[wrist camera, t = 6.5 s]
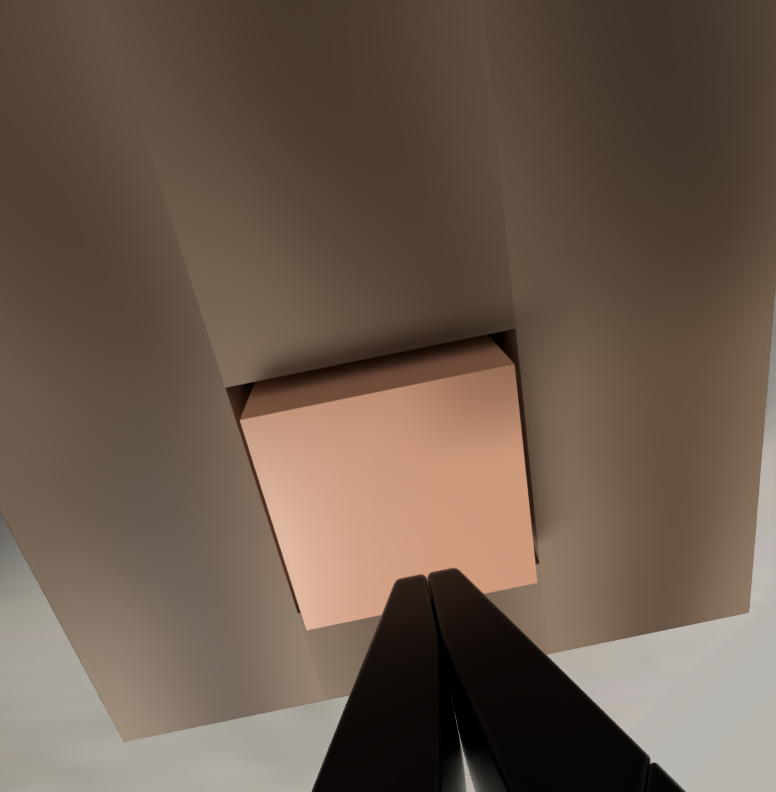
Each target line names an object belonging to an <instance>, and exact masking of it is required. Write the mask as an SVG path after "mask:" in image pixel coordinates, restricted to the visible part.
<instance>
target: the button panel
mask: <svg viewBox="0 0 776 792" xmlns="http://www.w3.org/2000/svg"><path fill="white" fill-rule="evenodd" d="M775 285H776V0H0V513H1V515H2V516H3V518H4V520H5V522H6V524H7V526H8V528H9V529H10V531H11V533H12V535H13V537H14V539H15V541H16V542H17V544H18V546H19V548H20V550H21V552H22V554H23V555H24V557H25V559H26V561H27V563H28V565H29V567H30V569H31V570H32V572H33V574H34V576H35V578H36V580H37V582H38V583H39V585H40V587H41V589H42V591H43V593H44V595H45V596H46V598H47V600H48V602H49V604H50V606H51V608H52V609H53V611H54V613H55V615H56V617H57V619H58V621H59V623H60V624H61V626H62V628H63V630H64V632H65V634H66V636H67V637H68V639H69V641H70V643H71V645H72V647H73V649H74V650H75V652H76V654H77V656H78V658H79V660H80V662H81V663H82V665H83V667H84V669H85V671H86V673H87V675H88V676H89V678H90V680H91V682H92V684H93V686H94V688H95V690H96V691H97V693H98V695H99V697H100V699H101V701H102V703H103V704H104V706H105V708H106V710H107V712H108V714H109V716H110V717H111V719H112V721H113V723H114V725H115V727H116V729H117V730H118V732H119V734H120V736H121V738H122V740H123V742H126V741H131V740H136V739H140V738H145V737H150V736H155V735H160V734H165V733H169V732H174V731H179V730H184V729H189V728H194V727H198V726H203V725H208V724H213V723H218V722H223V721H227V720H232V719H237V718H242V717H247V716H252V715H256V714H261V713H266V712H271V711H276V710H281V709H285V708H290V707H295V706H300V705H305V704H310V703H314V702H319V701H324V700H329V699H334V698H339V697H344V696H348V695H350V693H351V691H352V688H353V686H354V683H355V681H356V678H357V676H358V673H359V671H360V668H361V666H362V663H363V660H364V658H365V655H366V653H367V650H368V648H369V645H370V643H371V640H372V638H373V635H374V633H375V630H376V628H377V625H378V623H379V620H380V618H381V615H379V616H374V617H369V618H364V619H360V620H355V621H350V622H345V623H340V624H335V625H330V626H326V627H321V628H316V629H311V630H306V627H305V624H304V621H303V618H302V615H301V611H300V608H299V605H298V602H297V599H296V596H295V593H294V589H293V586H292V583H291V580H290V577H289V574H288V571H287V567H286V564H285V561H284V558H283V555H282V552H281V549H280V545H279V542H278V539H277V536H276V533H275V530H274V527H273V523H272V520H271V517H270V514H269V511H268V508H267V505H266V501H265V498H264V495H263V492H262V489H261V486H260V482H259V479H258V476H257V473H256V470H255V467H254V464H253V460H252V457H251V454H250V451H249V448H248V445H247V442H246V438H245V435H244V432H243V429H242V426H241V423H240V418H241V416H242V413H243V411H244V408H245V406H246V403H247V401H248V398H249V396H250V393H251V391H252V388H253V386H254V383H255V381H260V380H265V379H270V378H275V377H280V376H285V375H290V374H295V373H300V372H305V371H309V370H314V369H319V368H324V367H329V366H334V365H339V364H344V363H349V362H354V361H359V360H364V359H368V358H373V357H378V356H383V355H388V354H393V353H398V352H403V351H408V350H413V349H418V348H423V347H427V346H432V345H437V344H442V343H447V342H452V341H457V340H462V339H467V338H472V337H477V336H482V335H486V334H488V336H489V337H490V338H491V339H492V340H493V341H494V342H495V343H496V344H497V345H498V347H499V348H500V349H501V350H502V351H503V352H504V353H505V354H506V355H507V356H508V357H509V359H510V360H511V361H512V362H513V363H514V364H515V373H516V383H517V392H518V402H519V411H520V421H521V430H522V440H523V450H524V459H525V469H526V478H527V488H528V497H529V507H530V516H531V526H532V536H533V545H534V555H535V564H536V574H537V583H534V584H529V585H525V586H520V587H515V588H510V589H505V590H500V591H495V592H491V593H486V594H485V595H486V596H487V597H488V598H489V599H490V600H491V601H492V602H493V603H494V604H495V605H496V606H497V607H498V608H499V609H500V610H501V611H502V612H503V613H504V614H505V615H506V616H507V617H508V618H509V619H510V620H511V621H512V622H513V623H514V624H515V625H516V626H517V627H518V628H519V629H520V630H521V631H522V632H523V633H524V634H525V635H526V636H527V637H528V638H529V639H530V640H531V641H532V642H533V643H534V644H535V645H537V646H538V647H539V648H540V649H541V650H542V651H543V652H544V653H545V654H546V655H547V654H551V653H556V652H561V651H566V650H571V649H576V648H580V647H585V646H590V645H595V644H600V643H605V642H609V641H614V640H619V639H624V638H629V637H634V636H639V635H643V634H648V633H653V632H658V631H663V630H668V629H672V628H677V627H682V626H687V625H692V624H697V623H701V622H706V621H711V620H716V619H721V618H726V617H730V616H735V615H740V614H745V613H749V607H750V594H751V582H752V570H753V557H754V545H755V533H756V520H757V508H758V495H759V483H760V471H761V458H762V446H763V433H764V421H765V409H766V396H767V384H768V371H769V359H770V347H771V334H772V322H773V310H774V297H775Z"/></svg>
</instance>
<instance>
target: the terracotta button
mask: <svg viewBox="0 0 776 792" xmlns="http://www.w3.org/2000/svg"><path fill="white" fill-rule="evenodd" d="M240 423H241V426H242V429H243V432H244V435H245V438H246V442H247V445H248V448H249V451H250V454H251V457H252V460H253V464H254V467H255V470H256V473H257V476H258V479H259V482H260V486H261V489H262V492H263V495H264V498H265V501H266V505H267V508H268V511H269V514H270V517H271V520H272V523H273V527H274V530H275V533H276V536H277V539H278V542H279V545H280V549H281V552H282V555H283V558H284V561H285V564H286V567H287V571H288V574H289V577H290V580H291V583H292V586H293V589H294V593H295V596H296V599H297V602H298V605H299V608H300V611H301V615H302V618H303V621H304V624H305V627H306V630H311V629H316V628H321V627H326V626H330V625H335V624H340V623H345V622H350V621H355V620H360V619H364V618H369V617H374V616H379V615H382V613H383V610H384V607H385V605H386V602H387V600H388V597H389V595H390V592H391V590H392V587H393V585H394V583H395V581H396V580H397V579H400V578H404V577H409V576H414V575H419V574H423V575H425V576H426V577H428V574H429V573H431V572H434V571H439V570H444V569H449V568H457V569H459V570H460V571H461V572H462V573H463V574H464V575H465V576H466V577H467V578H468V579H469V580H470V581H471V582H472V583H473V584H474V585H475V586H476V587H477V588H478V589H479V590H481V591H482V592H483V593H484V594H486V593H491V592H495V591H500V590H505V589H510V588H515V587H520V586H525V585H529V584H534V583H537V574H536V564H535V555H534V545H533V536H532V526H531V516H530V507H529V497H528V488H527V478H526V469H525V459H524V450H523V440H522V430H521V421H520V411H519V402H518V392H517V383H516V373H515V364H514V363H513V362H512V361H511V360H510V359H509V357H508V356H507V355H506V354H505V353H504V352H503V351H502V350H501V349H500V348H499V347H498V345H497V344H496V343H495V342H494V341H493V340H492V339H491V338H490V337H489V336H488V334H486V335H482V336H477V337H472V338H467V339H462V340H457V341H452V342H447V343H442V344H437V345H432V346H427V347H423V348H418V349H413V350H408V351H403V352H398V353H393V354H388V355H383V356H378V357H373V358H368V359H364V360H359V361H354V362H349V363H344V364H339V365H334V366H329V367H324V368H319V369H314V370H309V371H305V372H300V373H295V374H290V375H285V376H280V377H275V378H270V379H265V380H260V381H255V383H254V386H253V388H252V391H251V393H250V396H249V398H248V401H247V403H246V406H245V408H244V411H243V413H242V416H241V418H240ZM427 581H428V578H427ZM428 585H429V584H428ZM429 590H430V589H429ZM430 595H431V594H430Z"/></svg>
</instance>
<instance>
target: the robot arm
mask: <svg viewBox="0 0 776 792" xmlns="http://www.w3.org/2000/svg"><path fill="white" fill-rule="evenodd" d="M427 578H428V581H427ZM428 584H429V585H428ZM429 589H430V590H429ZM430 594H431V595H430ZM450 692H451V693H450ZM451 697H452V698H451ZM452 702H453V703H452ZM453 707H454V708H453ZM454 712H455V713H454ZM455 716H456V718H455ZM456 721H457V723H456ZM457 726H458V728H457ZM458 731H459V733H458ZM459 735H460V739H459ZM460 740H461V744H462V748H463V752H464V756H465V759H466V763H467V766H468V769H469V773H470V776H471V779H472V782H473V785H474V788H475V791H476V792H686V791H685V790H683V789H682V788H681V787H680V786H679V785H678V784H677V783H676V782H675V781H674V780H673V779H672V778H671V777H670V776H669V775H668V774H667V773H666V772H665V771H664V770H663V769H662V768H661V767H660V766H659V765H658V764H657V763H651V764H650V757H649V756H648V755H647V754H646V753H645V752H644V751H643V750H642V749H641V748H640V747H639V746H638V745H637V744H636V743H635V742H634V741H633V740H632V739H631V738H630V737H629V736H628V735H627V734H626V733H625V732H624V731H623V730H622V729H621V728H620V727H619V726H618V725H617V724H616V723H615V722H614V721H613V720H612V719H611V718H610V717H609V716H608V715H607V714H606V713H605V712H604V711H603V710H602V709H601V708H600V707H599V706H598V705H597V704H596V703H595V702H594V701H593V700H591V699H590V698H589V697H588V696H587V695H586V694H585V693H584V692H583V691H582V690H581V689H580V688H579V687H578V686H577V685H576V684H575V683H574V682H573V681H572V680H571V679H570V678H569V677H568V676H567V675H566V674H565V673H564V672H563V671H562V670H561V669H560V668H559V667H558V666H557V665H556V664H555V663H554V662H553V661H552V660H551V659H550V658H549V657H548V656H547V655H546V654H545V653H544V652H543V651H542V650H541V649H540V648H539V647H538V646H537V645H535V644H534V643H533V642H532V641H531V640H530V639H529V638H528V637H527V636H526V635H525V634H524V633H523V632H522V631H521V630H520V629H519V628H518V627H517V626H516V625H515V624H514V623H513V622H512V621H511V620H510V619H509V618H508V617H507V616H506V615H505V614H504V613H503V612H502V611H501V610H500V609H499V608H498V607H497V606H496V605H495V604H494V603H493V602H492V601H491V600H490V599H489V598H488V597H487V596H486V595H485V594H484V593H483V592H482V591H481V590H479V589H478V588H477V587H476V586H475V585H474V584H473V583H472V582H471V581H470V580H469V579H468V578H467V577H466V576H465V575H464V574H463V573H462V572H461V571H460V570H459V569H457V568H449V569H444V570H439V571H434V572H431V573H429V574H428V577H426V576H425V575H423V574H419V575H414V576H409V577H404V578H400V579H397V580H396V581H395V583H394V585H393V587H392V590H391V592H390V595H389V597H388V600H387V602H386V605H385V607H384V610H383V613H382V615H381V618H380V620H379V623H378V625H377V628H376V630H375V633H374V635H373V638H372V640H371V643H370V645H369V648H368V650H367V653H366V655H365V658H364V660H363V663H362V666H361V668H360V671H359V673H358V676H357V678H356V681H355V683H354V686H353V688H352V691H351V693H350V696H349V698H348V701H347V703H346V706H345V708H344V711H343V713H342V716H341V719H340V721H339V724H338V726H337V729H336V731H335V734H334V736H333V739H332V741H331V744H330V746H329V749H328V751H327V754H326V756H325V759H324V761H323V764H322V766H321V769H320V772H319V774H318V777H317V779H316V782H315V784H314V787H313V789H312V792H466V783H465V773H464V765H463V756H462V750H461V744H460Z"/></svg>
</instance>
